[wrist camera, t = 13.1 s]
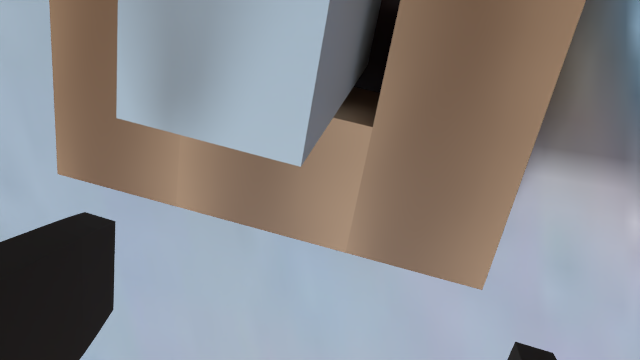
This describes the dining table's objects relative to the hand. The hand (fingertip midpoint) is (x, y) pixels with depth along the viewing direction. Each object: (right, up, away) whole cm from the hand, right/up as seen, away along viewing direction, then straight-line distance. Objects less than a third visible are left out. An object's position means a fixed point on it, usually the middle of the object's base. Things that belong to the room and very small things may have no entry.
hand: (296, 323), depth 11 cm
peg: (0, +8, +8) cm, 11 cm away
